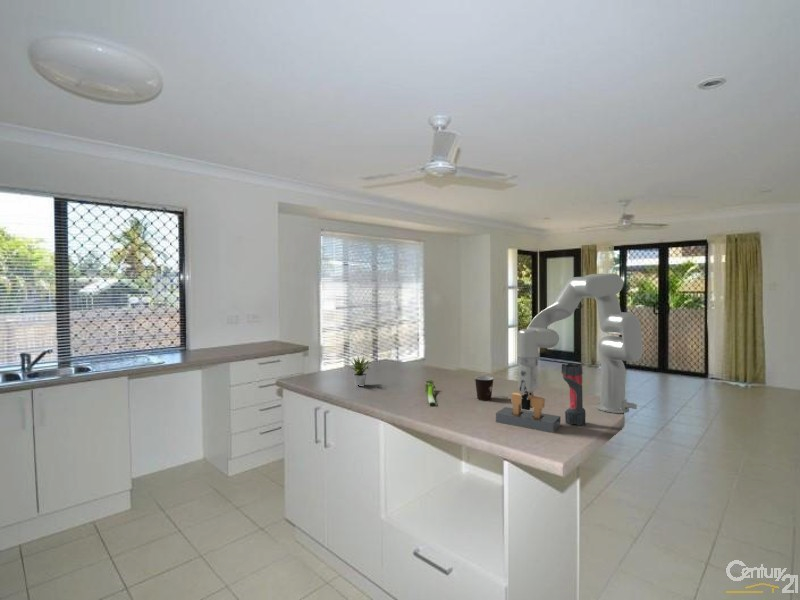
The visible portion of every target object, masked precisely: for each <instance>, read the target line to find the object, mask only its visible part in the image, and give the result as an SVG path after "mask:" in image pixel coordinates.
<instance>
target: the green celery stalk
mask: <svg viewBox="0 0 800 600" xmlns="http://www.w3.org/2000/svg"><path fill="white" fill-rule="evenodd" d="M425 382H426V383H425V384H424V389H425V393H427V400H428V405H429V406H431V404H434V406H435V405H436V406H435V407H438V404H437V402H436V400H435V397H434V394H433V392H434V389H437V387H436V386H435V384H434V383H435V381H434V380H432V379H430V380H426V381H425Z"/></svg>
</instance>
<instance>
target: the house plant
mask: <svg viewBox="0 0 800 600" xmlns="http://www.w3.org/2000/svg"><path fill="white" fill-rule="evenodd" d="M352 359H353V361H354V362H353V361H351V360H350V363H351V364H352V365H353V366H354V367H349V369H352V370H354V371H355V373H353V381H354V386H355V385H366V379H367V373H365V372H366V370H369V371H370V370H371V369H370V365H368V364H371V362H372V358H371V359H367V360H366V357H365V356H364V355H363V356H362V359H361V361H360V358H359V356H357V359H356V358H354V357H353V358H352ZM365 360H366V361H365Z"/></svg>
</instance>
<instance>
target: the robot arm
mask: <svg viewBox="0 0 800 600" xmlns="http://www.w3.org/2000/svg"><path fill="white" fill-rule="evenodd" d="M623 287H624V280H623V278H622V277H621V276H620V275H619V274H617V273H591V274H587V275H586V274H585V275H584V276H575V277H571V278H569V279H568V280H567V282H565V284H564V286H563V287H562V289H561V290H560V292H559V294H557V296H556V298H555V299H554V301H553V302H552V303H551V304H550V305H549V306H547V307H546V308H545V309H542V310H541V311H540V312H539V313H537V314H536V315H535V316H534V317H533V318H532V319H531V321H530V322H529V324H528V325H527V327H526V328H522V329H519V330H518V332H517V366H519V368H518V381H517V382H518V390H519V392H520V395H521V399H522V403H521V410H526V411H531V409H534V407H530V400H529V395H531V396H535V395H534V392H535V391H536V390H538V388H539V377H538V376H539V371H538V366H539V348H542V349H552V348H554V347H556V346H557V345H558V344H559V342H560V335H559V333H558V332H557V331H555V330H554V329H552V328H548V327H549V326H550V325H552V324H554V323H556V322H559V321H562V320H566V319H567V318H570V317H571V316H572V315H573V314H574V312H575V311H576V309H577V307H578V305H579V304H580V303H581V301H582V300H583V299H594V300H595V302H596V306H597V311H598V321H599V328H600V330H601V331H602V332H603V333H606V334H611V335H607V336H603V337H602V338H600V340H599V341H598V345H597V348H598V354H599V359H600V397H599V398H600V402H599V403H597V404H596V408H597V409H598V410H600V411H602V412H605V411H606V412H607V413H610V412H611V414H612V413H613V414H626V413H629V412H630V409H633V410H637V409H638V404H636V403H635V402H628V399H627V398H626V366H625V364H624V362H623V361H625V362H632V363H633V362H634V363H635V362H637V361H640V359H641V358H642V356H643V353H644V352H643V351H644V349H643V336H642V326H641V322H640V319H639V317H638V316H637V315H636V314H635V313H632V312H623V311H622V310H621V306H620V305H621V304H620V300H619V297H618V295H617V294H619V293H620V292H621V291H622V290H623ZM615 335H618V336H615ZM620 408H621V409H622V410H621V409H620Z"/></svg>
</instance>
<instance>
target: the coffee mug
mask: <svg viewBox="0 0 800 600" xmlns="http://www.w3.org/2000/svg"><path fill="white" fill-rule="evenodd" d="M474 383H475V390H476V391H475V392H476V399H477V400H478V399H479V400H478V401H482V402H485V401H488V400H489V401H491V400H492V394H493V387H494V386H493V384H494V377H493V376H487V375H486V376H485V375H478V376H475V377H474Z"/></svg>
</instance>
